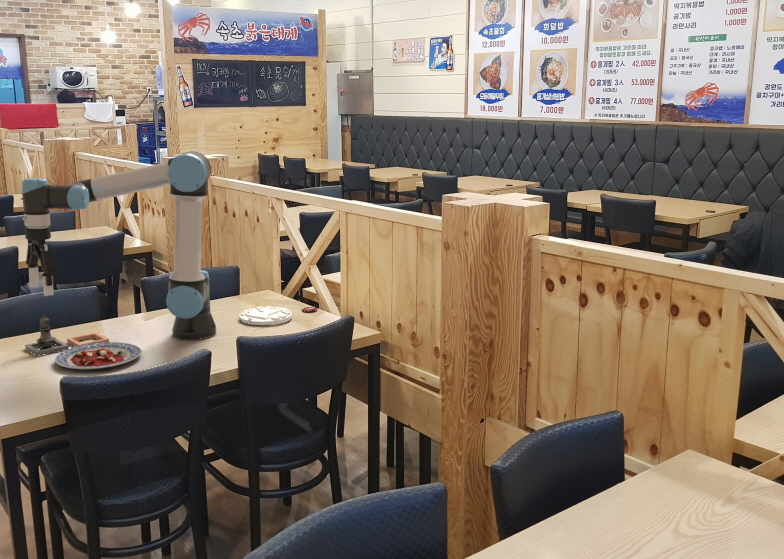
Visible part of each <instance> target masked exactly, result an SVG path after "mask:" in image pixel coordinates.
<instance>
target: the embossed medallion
mask: <svg viewBox="0 0 784 559" xmlns="http://www.w3.org/2000/svg"><path fill="white" fill-rule="evenodd" d="M292 318H293V312H292V310H290V309H289V308H287V307H282V306H275V307H274V306H272V305H267V306H265V307H264V306H256V307H255V308H248V309H244V310H243V311H242V312H240V313H239V315H238V319H240V320H241V321H242V322H241V321H240V320H239V321H240V322H241V323H243V322H244V323H243V324H245V323H248V324H247V325H249V324H251V325H250V326H278V325H279V324H281V325H282V323H283V324H286V323H285V322H287V323H288V321H290V319H291V320H292Z"/></svg>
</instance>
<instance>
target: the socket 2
mask: <svg viewBox="0 0 784 559" xmlns="http://www.w3.org/2000/svg"><path fill="white" fill-rule="evenodd" d="M90 338H92V339H95V340H91V339H90ZM85 339H87V340H91V341H87V342H82V343H81V341H80V340H83V341H86V340H85ZM67 342H69V343H70V344H69V343H68V344H69V345H71V344H72V345H71V346H73V345H74V346H75V347H77V346H81V345H87V344H93V343H103V342H110V338H108V337H106V336H104V335H102V334H100V333H99V332H92V333H88V334H87V333H86V334H82V335H77V336H72V337H67V338H66V343H67ZM74 346H73V347H74Z"/></svg>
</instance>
